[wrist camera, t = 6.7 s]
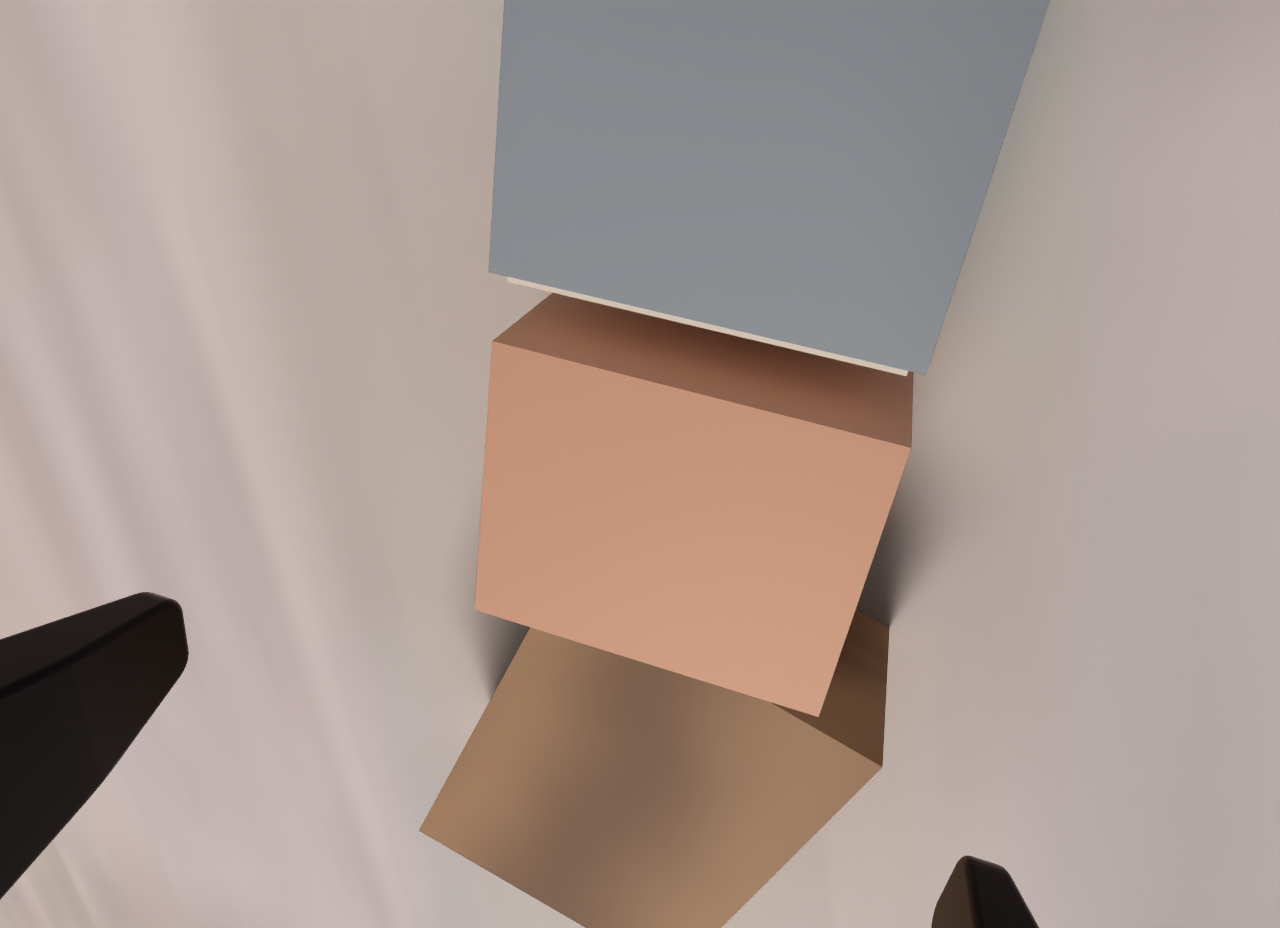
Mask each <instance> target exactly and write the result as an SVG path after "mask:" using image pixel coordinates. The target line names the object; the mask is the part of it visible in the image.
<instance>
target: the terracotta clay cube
mask: <svg viewBox="0 0 1280 928" xmlns="http://www.w3.org/2000/svg"><path fill="white" fill-rule="evenodd" d="M912 402H913V372H910V371H908V373H907V376H903V375H899V374H895V373H890V372H886V371H882V370H878V369H873V368H869V367H865V366H861V365H857V364H852V363H848V362H844V361H840V360H835V359H831V358H827V357H823V356H819V355H814V354H810V353H806V352H802V351H797V350H793V349H789V348H785V347H781V346H776V345H772V344H768V343H764V342H759V341H755V340H751V339H747V338H743V337H738V336H734V335H730V334H726V333H721V332H717V331H713V330H709V329H705V328H700V327H696V326H692V325H688V324H683V323H679V322H675V321H671V320H667V319H662V318H658V317H654V316H650V315H645V314H641V313H637V312H633V311H628V310H624V309H620V308H616V307H612V306H607V305H603V304H599V303H595V302H590V301H586V300H582V299H578V298H574V297H569V296H565V295H561V294H557V293H552V294H551V295H549V296H548V297H547V298H546V299H544V300H543V301H542V302H541V303H539V304H538V305H537V306H536V307H534V308H533V309H532V310H531V311H529V312H528V313H527V314H526V315H524V316H523V317H522V318H521V319H519V320H518V321H517V322H516V323H514V324H513V325H512V326H511V327H509V328H508V329H507V330H506V331H504V332H503V333H502V334H501V335H499V336H498V337H497V338H496V339H494V340H493V341H492V353H491V368H490V383H489V398H488V414H487V429H486V444H485V459H484V474H483V490H482V505H481V520H480V535H479V550H478V566H477V581H476V596H475V610H476V611H480V612H483V613H486V614H489V615H492V616H496V617H499V618H502V619H505V620H508V621H512V622H515V623H518V624H521V625H525V626H528V627H531V628H534V629H537V630H541V631H544V632H547V633H550V634H553V635H557V636H560V637H563V638H566V639H569V640H573V641H576V642H579V643H582V644H585V645H589V646H592V647H595V648H598V649H602V650H605V651H608V652H611V653H614V654H618V655H621V656H624V657H627V658H630V659H634V660H637V661H640V662H643V663H646V664H650V665H653V666H656V667H659V668H663V669H666V670H669V671H672V672H675V673H679V674H682V675H685V676H688V677H691V678H695V679H698V680H701V681H704V682H707V683H711V684H714V685H717V686H720V687H723V688H727V689H730V690H733V691H736V692H740V693H743V694H746V695H749V696H752V697H756V698H759V699H762V700H765V701H768V702H772V703H775V704H778V705H781V706H784V707H788V708H791V709H794V710H797V711H800V712H804V713H807V714H810V715H813V716H817V717H819V714H820V711H821V709H822V706H823V703H824V700H825V697H826V694H827V691H828V688H829V685H830V682H831V679H832V677H833V674H834V671H835V668H836V665H837V662H838V659H839V656H840V653H841V650H842V648H843V645H844V642H845V639H846V636H847V633H848V630H849V627H850V624H851V621H852V619H853V616H854V613H855V610H856V607H857V604H858V601H859V598H860V595H861V592H862V590H863V587H864V584H865V581H866V578H867V575H868V572H869V569H870V566H871V563H872V561H873V558H874V555H875V552H876V549H877V546H878V543H879V540H880V537H881V534H882V531H883V529H884V526H885V523H886V520H887V517H888V514H889V511H890V508H891V505H892V502H893V500H894V497H895V494H896V491H897V488H898V485H899V482H900V479H901V476H902V473H903V471H904V468H905V465H906V462H907V459H908V456H909V453H910V450H911V440H912Z"/></svg>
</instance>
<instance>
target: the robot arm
mask: <svg viewBox="0 0 1280 928" xmlns="http://www.w3.org/2000/svg"><path fill="white" fill-rule="evenodd" d="M188 654H189V652H188V644H187V638H186V631H185V625H184V618H183V611H182V608H181V606H180V605H179V603H178V602H177V601H175V600H173V599H170V598H167V597H164V596H161V595H157V594H154V593H150V592H142V593H138V594H134V595H131V596H128V597H125V598H122V599H119V600H116V601H113V602H110V603H108V604H105V605H102V606H99V607H96V608H93V609H90V610H87V611H84V612H81V613H78V614H75V615H72V616H69V617H66V618H63V619H60V620H57V621H54V622H51V623H48V624H45V625H42V626H39V627H36V628H33V629H30V630H27V631H24V632H21V633H18V634H15V635H12V636H9V637H6V638H3V639H0V899H1V898H2V897H3V896H4V895H5V894H6V892H7V891H8V890H9V889H10V888H11V887H12V886H13V885H14V883H15V882H16V881H17V880H18V879H19V878H20V877H21V875H22V874H23V873H24V872H25V871H26V870H27V869H28V867H29V866H30V865H31V864H32V863H33V862H34V861H35V860H36V858H37V857H38V856H39V855H40V854H41V853H42V852H43V850H44V849H45V848H46V847H47V846H48V845H49V844H50V842H51V841H52V840H53V839H54V838H55V837H56V836H57V834H58V833H59V832H60V831H61V830H62V829H63V828H64V827H65V825H66V824H67V823H68V822H69V821H70V820H71V819H72V817H73V816H74V815H75V814H76V813H77V812H78V811H79V809H80V808H81V807H82V806H83V805H84V804H85V803H86V801H87V800H88V799H89V798H90V797H91V795H92V794H93V793H94V792H95V791H96V790H97V788H98V787H99V786H100V785H101V784H102V782H103V781H104V780H105V778H106V777H107V776H108V774H109V773H110V772H111V771H112V769H113V768H114V767H115V765H116V764H117V763H118V761H119V760H120V758H121V757H122V756H123V754H124V753H125V752H126V750H127V749H128V747H129V746H130V745H131V743H132V742H133V741H134V739H135V738H136V736H137V735H138V734H139V732H140V731H141V730H142V728H143V727H144V725H145V724H146V723H147V721H148V720H149V719H150V717H151V716H152V714H153V713H154V712H155V710H156V709H157V708H158V706H159V705H160V703H161V702H162V701H163V699H164V698H165V696H166V695H167V694H168V692H169V691H170V690H171V688H172V687H173V685H174V684H175V683H176V681H177V680H178V679H179V677H180V676H181V674H182V673H183V671H184V669H185V667H186V664H187V661H188ZM931 928H1039V927H1038V925H1037V923H1036V921H1035V919H1034V918H1033V916H1032V914H1031V912H1030V910H1029V909H1028V907H1027V905H1026V903H1025V901H1024V899H1023V898H1022V896H1021V894H1020V892H1019V890H1018V889H1017V887H1016V885H1015V883H1014V881H1013V879H1012V878H1011V876H1010V874H1009V873H1008V872H1007V871H1006V870H1005V869H1004V868H1003V867H1002V866H999V865H997V864H994V863H991V862H988V861H985V860H981V859H978V858H975V857H972V856H963V857H962V858H961V859H960V860H959V861H958V862H957V864H956V866H955V868H954V870H953V872H952V874H951V876H950V878H949V880H948V882H947V884H946V886H945V888H944V890H943V892H942V894H941V896H940V898H939V900H938V902H937V904H936V907H935V911H934V915H933V920H932V927H931Z"/></svg>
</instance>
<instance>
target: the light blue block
mask: <svg viewBox="0 0 1280 928" xmlns="http://www.w3.org/2000/svg"><path fill="white" fill-rule="evenodd" d="M1049 1H1050V0H504V14H503V32H502V49H501V66H500V83H499V100H498V118H497V135H496V152H495V169H494V186H493V204H492V221H491V238H490V255H489V272H490V273H495V274H499V275H503V276H507V282H510V283H514V284H519V285H523V286H527V287H531V288H536V289H540V290H544V291H548V292H552V293H557V294H561V295H565V296H569V297H574V298H578V299H582V300H586V301H590V302H595V303H599V304H603V305H607V306H612V307H616V308H620V309H624V310H628V311H633V312H637V313H641V314H645V315H650V316H654V317H658V318H662V319H667V320H671V321H675V322H679V323H683V324H688V325H692V326H696V327H700V328H705V329H709V330H713V331H717V332H721V333H726V334H730V335H734V336H738V337H743V338H747V339H751V340H755V341H759V342H764V343H768V344H772V345H776V346H781V347H785V348H789V349H793V350H797V351H802V352H806V353H810V354H814V355H819V356H823V357H827V358H831V359H835V360H840V361H844V362H848V363H852V364H857V365H861V366H865V367H869V368H873V369H878V370H882V371H886V372H890V373H895V374H899V375H903V376H907V373H908V371H910V372H915V373H919V374H923V375H926V372H927V369H928V366H929V363H930V360H931V357H932V354H933V351H934V348H935V345H936V342H937V339H938V336H939V333H940V330H941V327H942V324H943V321H944V318H945V315H946V312H947V309H948V306H949V303H950V300H951V297H952V294H953V291H954V288H955V285H956V282H957V279H958V276H959V273H960V270H961V267H962V264H963V261H964V258H965V255H966V252H967V249H968V246H969V243H970V240H971V237H972V234H973V231H974V228H975V225H976V222H977V219H978V216H979V213H980V209H981V206H982V203H983V200H984V197H985V194H986V191H987V188H988V185H989V182H990V179H991V176H992V173H993V170H994V167H995V164H996V161H997V158H998V155H999V152H1000V149H1001V146H1002V143H1003V140H1004V137H1005V134H1006V131H1007V128H1008V125H1009V122H1010V119H1011V116H1012V113H1013V110H1014V107H1015V104H1016V101H1017V98H1018V95H1019V92H1020V89H1021V86H1022V83H1023V80H1024V77H1025V74H1026V71H1027V68H1028V65H1029V62H1030V59H1031V56H1032V53H1033V50H1034V47H1035V44H1036V41H1037V38H1038V35H1039V32H1040V29H1041V26H1042V23H1043V20H1044V16H1045V13H1046V10H1047V7H1048V4H1049Z"/></svg>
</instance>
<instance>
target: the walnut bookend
mask: <svg viewBox="0 0 1280 928" xmlns="http://www.w3.org/2000/svg"><path fill="white" fill-rule="evenodd" d="M888 645H889V627H887V626H885V625H884V624H882V623H880V622H879V621H877V620H875V619H873V618H872V617H870V616H868V615H866V614H865V613H863V612H861V611H859V610H858V609H856V610H855V613H854V616H853V619H852V621H851V624H850V627H849V630H848V633H847V636H846V639H845V642H844V645H843V648H842V650H841V653H840V656H839V659H838V662H837V665H836V668H835V671H834V674H833V677H832V679H831V682H830V685H829V688H828V691H827V694H826V697H825V700H824V703H823V706H822V709H821V711H820V714H819V717H817V716H813V715H810V714H807V713H804V712H800V711H797V710H794V709H791V708H788V707H784V706H781V705H778V704H775V703H772V702H768V701H765V700H762V699H759V698H756V697H752V696H749V695H746V694H743V693H740V692H736V691H733V690H730V689H727V688H723V687H720V686H717V685H714V684H711V683H707V682H704V681H701V680H698V679H695V678H691V677H688V676H685V675H682V674H679V673H675V672H672V671H669V670H666V669H663V668H659V667H656V666H653V665H650V664H646V663H643V662H640V661H637V660H634V659H630V658H627V657H624V656H621V655H618V654H614V653H611V652H608V651H605V650H602V649H598V648H595V647H592V646H589V645H585V644H582V643H579V642H576V641H573V640H569V639H566V638H563V637H560V636H557V635H553V634H550V633H547V632H544V631H541V630H537V629H534V628H531V627H530V629H529V631H528V632H527V634H526V636H525V638H524V640H523V641H522V643H521V645H520V647H519V649H518V651H517V652H516V654H515V656H514V658H513V660H512V662H511V663H510V665H509V667H508V669H507V671H506V673H505V674H504V676H503V678H502V680H501V682H500V683H499V685H498V687H497V689H496V691H495V693H494V694H493V696H492V698H491V700H490V702H489V704H488V705H487V707H486V709H485V711H484V713H483V714H482V716H481V718H480V720H479V722H478V724H477V725H476V727H475V729H474V731H473V733H472V735H471V736H470V738H469V740H468V742H467V744H466V745H465V747H464V749H463V751H462V753H461V755H460V756H459V758H458V760H457V762H456V764H455V766H454V767H453V769H452V771H451V773H450V775H449V776H448V778H447V780H446V782H445V784H444V786H443V787H442V789H441V791H440V793H439V795H438V797H437V798H436V800H435V802H434V804H433V806H432V807H431V809H430V811H429V813H428V815H427V817H426V818H425V820H424V822H423V824H422V826H421V828H420V829H419V831H420V832H422V833H424V834H426V835H427V836H429V837H431V838H432V839H434V840H436V841H438V842H439V843H441V844H443V845H445V846H446V847H448V848H450V849H451V850H453V851H455V852H457V853H458V854H460V855H462V856H463V857H465V858H467V859H469V860H470V861H472V862H474V863H475V864H477V865H479V866H481V867H482V868H484V869H486V870H487V871H489V872H491V873H493V874H494V875H496V876H498V877H500V878H501V879H503V880H505V881H506V882H508V883H510V884H512V885H513V886H515V887H517V888H518V889H520V890H522V891H524V892H525V893H527V894H529V895H530V896H532V897H534V898H536V899H537V900H539V901H541V902H542V903H544V904H546V905H548V906H549V907H551V908H553V909H554V910H556V911H558V912H560V913H561V914H563V915H565V916H567V917H568V918H570V919H572V920H573V921H575V922H577V923H579V924H580V925H582V926H584V927H585V928H721V927H722V926H723V925H724V924H725V923H726V922H727V921H728V920H729V919H730V918H731V917H732V916H733V915H734V914H735V913H736V912H737V911H738V910H739V909H740V908H741V907H742V906H743V905H744V904H745V903H746V902H747V901H748V900H749V899H750V898H751V897H752V896H753V895H754V894H755V893H756V892H757V891H758V890H759V889H760V888H761V887H762V886H763V885H764V884H765V883H766V882H767V881H768V880H769V879H770V878H771V877H773V876H774V875H775V874H776V873H777V872H778V871H779V870H780V869H781V868H782V867H783V866H784V865H785V864H786V863H787V862H788V861H789V860H790V859H791V858H792V857H793V856H794V855H795V854H796V853H797V852H798V851H799V850H800V849H801V848H802V847H803V846H804V845H805V844H806V843H807V842H808V841H809V840H810V839H811V838H812V837H813V836H814V835H815V834H816V833H817V832H818V831H819V830H820V829H821V828H822V827H823V826H824V825H825V824H826V823H827V822H828V821H829V820H830V819H831V818H832V817H833V816H834V815H835V814H836V813H837V812H838V811H839V810H840V809H841V808H842V807H843V806H844V805H845V804H846V803H847V802H848V801H849V800H850V799H851V798H852V797H853V796H854V795H855V794H856V793H857V792H858V791H859V790H860V789H861V788H862V787H863V786H864V785H865V784H866V783H867V782H868V781H869V780H870V779H871V778H872V777H873V776H874V775H875V774H876V773H877V772H878V771H879V770H880V769H881V768H882V764H883V744H884V724H885V704H886V685H887V665H888Z"/></svg>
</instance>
